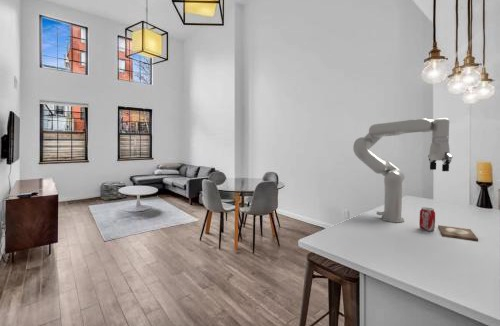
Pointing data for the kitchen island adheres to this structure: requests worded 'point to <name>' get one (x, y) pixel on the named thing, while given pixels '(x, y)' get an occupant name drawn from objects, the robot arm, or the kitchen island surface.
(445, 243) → the kitchen island surface
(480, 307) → the kitchen island surface
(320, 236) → the kitchen island surface
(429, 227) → the soda can
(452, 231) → the coaster board
